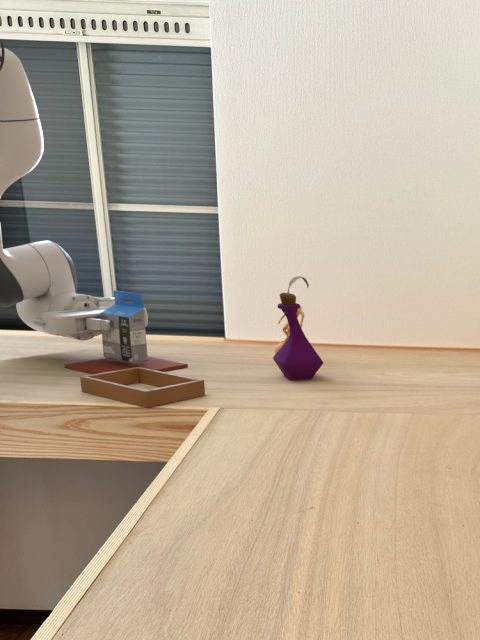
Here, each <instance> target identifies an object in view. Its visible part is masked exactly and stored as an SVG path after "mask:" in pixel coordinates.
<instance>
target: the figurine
mask: <svg viewBox="0 0 480 640" xmlns="http://www.w3.org/2000/svg"><path fill="white" fill-rule="evenodd" d="M300 315H301V317H300ZM285 317H286V315H285V314H284V313H283V314H282V316H281V317H280V319H279V321H278V323H277V325H280V324H281V322H282V320H283V319H284V318H285ZM299 317H300V323H299V324H300V326H301V328H303V323H304V318H305V313H304V312H303V310H302V306H301V305H300V308H299V309H298V310H297V318H298V319H299ZM282 332H283V333H284V334H285V336H286V337H285V338H284V340H282V341H281V342H279V343H278V344H277V345H276V346H275V349H274V355H275V354H276V353H277V352H278V351H279V349H280V348H281V347H282V346H283V345H284V343H285V342H286V340H287V339H288V337H289V333H290V331H289V324H288V320H287V321H286V323H285V324H284V326H282Z"/></svg>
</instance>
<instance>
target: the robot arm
mask: <svg viewBox="0 0 480 640" xmlns="http://www.w3.org/2000/svg"><path fill="white" fill-rule="evenodd" d="M44 145H45V143H44V134H43V129H42V124H41V119H40V115H39V111H38V107H37V104H36V99H35V96H34V93H33V91H32V86H31V84H30V81H29V78H28V76H27V73H26V71H25V68H24V66H23V63H22V62H21V59H20V58H19V57H18V56H17V54H15V53H14V52H13V51H12V50H10V49H8V48H6V47H5V45H4V43H3V41H2V40H1V39H0V199H2V196H3V195H4V193H5V191H6V190H7V189H8V188H10V186H11V185H13V184H14V183H15V182H17V181H18V180H19V179H21V178H23V177H24V176H26V175H28V174H29V173H30V172H31V171H32V170H34V169H35V168H36V167H37V165H38V164H39V162H40V161H41V159H42V156H43V154H44V150H45V149H44V148H45V146H44ZM114 304H115V299H114V297H109V296H107V297H105V296H103V297H102V296H93V295H89V294H82V293H78V275H77V269H76V267H75V263H74V261H73V259H72V257H71V256H70V255H69V254H68V253H67V252H66V250H65V249H64V248H63V247H61V246H60V245H59V244H58V243H56V242H54V241H52V240H49V239H45V240H38V241H34V242H28V243H23V244H20V245H17V246H12V247H11V246H10V247H7V248H4V245H3V235H2V224H1V223H0V307H1V308H8V307H10V306H14V305H15V306H16V311H17V312H16V313H17V315H18V317H19V318H20V320H21V321H22V322H23V323H24V324H26V326H28V327H30V328H31V329H33V330H35V331H37V332H40V333H42V334H46V335H47V334H48V335H52V336H57V337H62V338H65V339H66V338H67V339H70V340H71V339H73V340H77V341H89V340H91V339H93V338H95V337H98V336H102V330H105V331H108V330H113V329H114V326H113V325H114V322H113V321H112V320H102V319H101V318H100V313H101V312H102V311H104V310H106V309H107V308H109V307H111V306H112V305H114ZM144 315H145V327H147V326H148V325H149V316H148V311H147V309H146V307H144Z"/></svg>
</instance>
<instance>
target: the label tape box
mask: <svg viewBox="0 0 480 640" xmlns="http://www.w3.org/2000/svg"><path fill="white" fill-rule="evenodd" d="M112 292H113V298H114V299H115V304H114V305H112V306H111V307H109V308H107V309H106V310H104V311H102V312H101V313H100V318H101V319H102V320H112V321H113V322H114V325H113V326H114V329H113V330H108V331H105V330H102V334H101V340H102V353H103V354H102V355H103V356H102V357H103V358H112V359H117V360H122V361H127V362H132V363H137V362H145V361H148V357H149V356H148V345H147V331H146V326H145V315H144V308H145V305H144V304H145V303H144V299H143V296H142V293H139V292H138V293H137V292H131V291H130V292H129V291H121V290H115V289H114V290H112ZM128 298H129V300H132V301H127V300H125V299H128Z"/></svg>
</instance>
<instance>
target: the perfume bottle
mask: <svg viewBox="0 0 480 640" xmlns="http://www.w3.org/2000/svg"><path fill="white" fill-rule="evenodd" d="M300 279H302V280H303V282H304V283H305V284H306V287H307V289H309V288H310V287H309V286H310V284H309V282H308V280H307V279H306V277H305V276H302V275H297V276H294V277H292V278H290V281H289V282H288V288H287V292H281V293H280V294H279V298H280V303H278V304H277V309H279V310H281V312H283V315H284V314H285V315H286V316H285V317H286V320H287V321H288V324H289V331H290V333H289V337H288V339H287V340H286V342H285V343H284V345H283V346H282V347H281V348H280V349H279V351H278V352H277V353H276V354H275V353H274V355H273V357H272V360H273V361H274V362H275V364H276V366H277V367H278V368H279V370H280V372H281V373H282V375H283V376H284V377H285V378H287V379H288V380H290V381H304V380H313V378H314V377H315V375H316V374H317V373H318V371H319V370H320V368H321V367H322V365H324V361H323V360H322V358H321V357H320V355H319V354H318V352H317V351H316V350H315V348H314V347H313V344H311V343H310V341H309V340H308V338H307V336H306V335H305V333H304V331H303V329H302V328H303V327H302V328H301V326H300V324H301V323H300V321H299V317H298V318H297V310H298V309H299V308H300V306H301V304H300V303H298V302H297V296H296V295H295V294H293V293H291V292H290V288H291V287H292V285H293V284H294V283H295V282H296V281H297V280H300Z"/></svg>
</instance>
